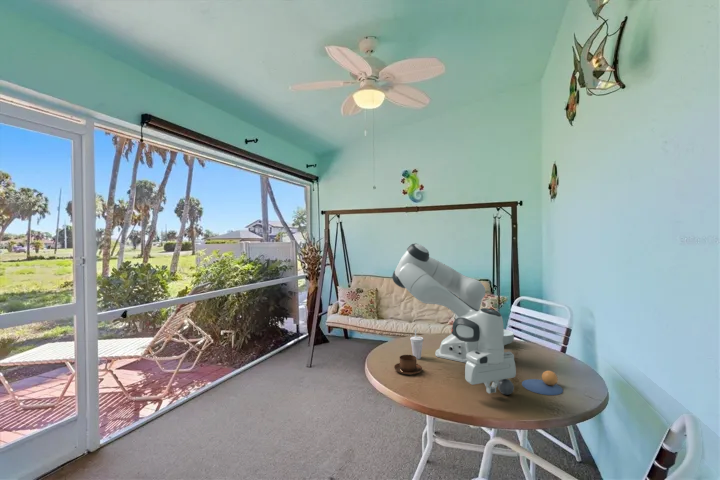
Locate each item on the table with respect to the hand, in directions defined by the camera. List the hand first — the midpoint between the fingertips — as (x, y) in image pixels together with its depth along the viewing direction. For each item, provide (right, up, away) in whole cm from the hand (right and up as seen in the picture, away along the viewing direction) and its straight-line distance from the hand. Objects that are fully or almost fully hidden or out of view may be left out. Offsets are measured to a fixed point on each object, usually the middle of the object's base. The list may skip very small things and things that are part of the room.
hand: (491, 392), depth 123 cm
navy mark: (+23, -2, +8) cm, 24 cm away
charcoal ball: (+6, +1, +2) cm, 7 cm away
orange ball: (+27, +1, +10) cm, 28 cm away
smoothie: (-20, -2, +42) cm, 46 cm away
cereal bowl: (+28, -2, +63) cm, 69 cm away
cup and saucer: (-27, -2, +25) cm, 37 cm away
